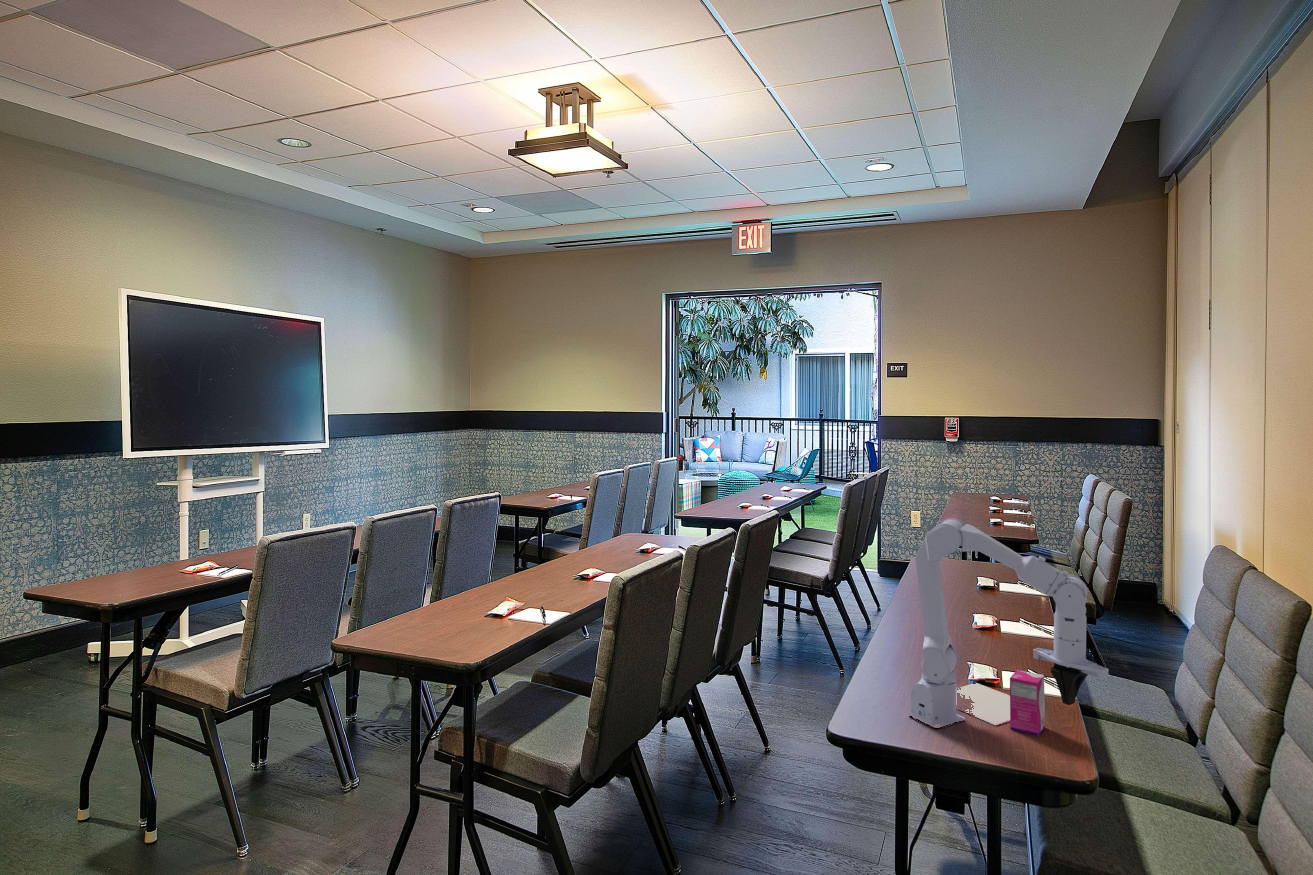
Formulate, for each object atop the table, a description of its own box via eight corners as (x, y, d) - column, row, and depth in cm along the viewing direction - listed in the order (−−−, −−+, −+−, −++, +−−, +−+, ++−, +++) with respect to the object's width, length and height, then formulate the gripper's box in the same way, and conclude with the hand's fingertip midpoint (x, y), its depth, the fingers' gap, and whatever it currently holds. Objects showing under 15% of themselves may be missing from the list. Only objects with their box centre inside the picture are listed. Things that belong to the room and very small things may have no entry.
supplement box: (1015, 720, 164) (1016, 668, 164) (1045, 727, 160) (1046, 674, 160) (1008, 729, 160) (1009, 676, 159) (1038, 736, 156) (1039, 683, 155)
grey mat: (995, 726, 161) (995, 724, 161) (928, 697, 177) (928, 696, 177) (1044, 709, 169) (1044, 708, 169) (976, 683, 185) (976, 682, 185)
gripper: (1117, 643, 147) (1116, 711, 147) (1048, 624, 159) (1047, 687, 160) (1096, 649, 143) (1095, 719, 144) (1027, 629, 156) (1026, 693, 157)
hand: (1068, 702), depth 152 cm, fingers closed
